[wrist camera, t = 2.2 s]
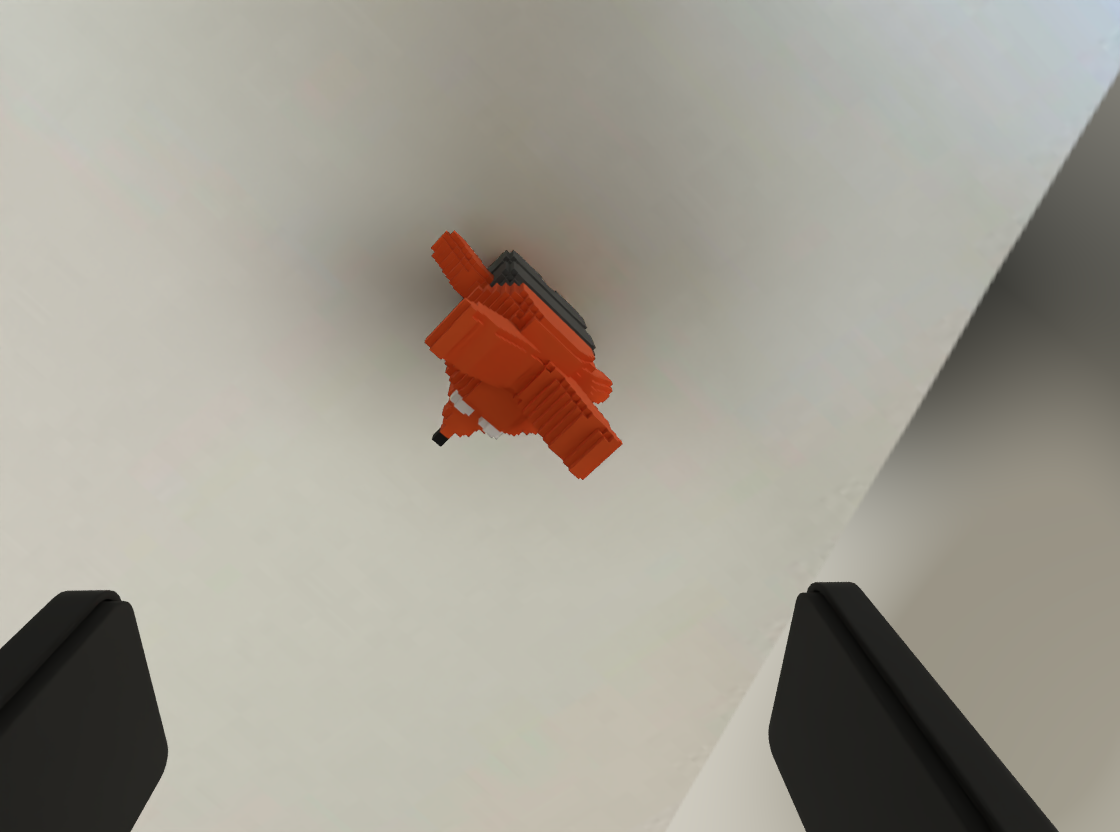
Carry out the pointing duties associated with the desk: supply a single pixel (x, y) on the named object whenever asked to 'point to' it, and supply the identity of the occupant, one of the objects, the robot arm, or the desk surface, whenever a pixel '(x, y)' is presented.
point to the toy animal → (518, 359)
